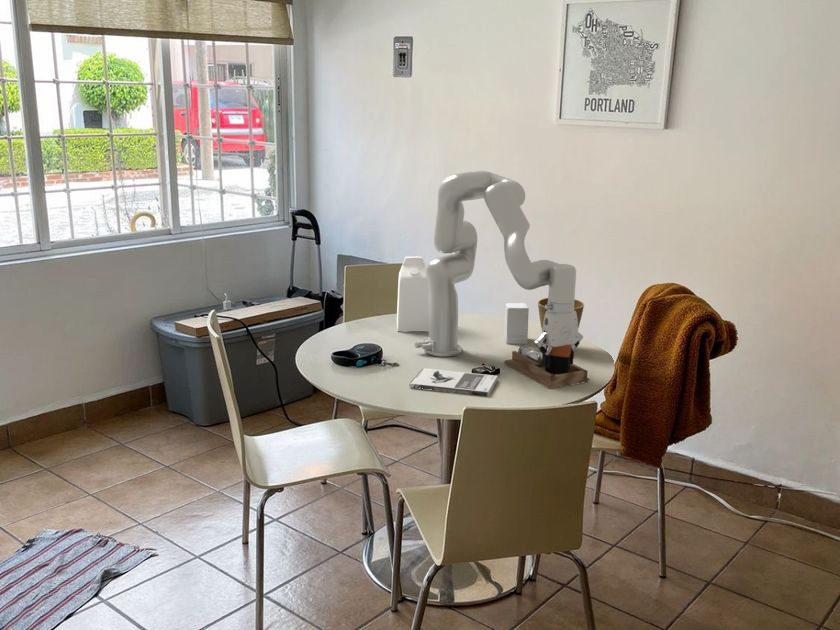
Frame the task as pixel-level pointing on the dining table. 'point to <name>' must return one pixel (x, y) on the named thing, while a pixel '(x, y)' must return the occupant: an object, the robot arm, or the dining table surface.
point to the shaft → (531, 354)
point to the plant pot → (541, 305)
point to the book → (454, 382)
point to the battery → (559, 360)
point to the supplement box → (516, 323)
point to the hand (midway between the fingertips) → (557, 364)
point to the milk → (413, 296)
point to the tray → (542, 376)
